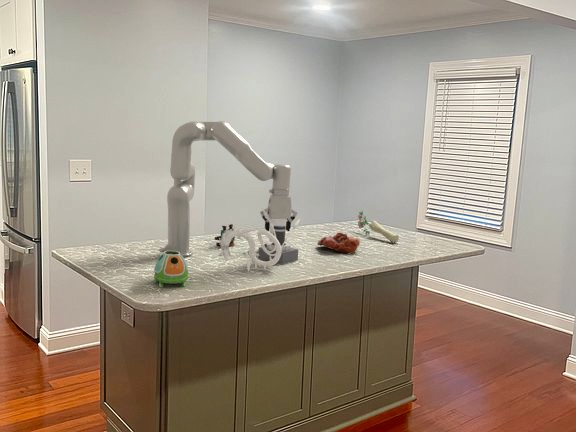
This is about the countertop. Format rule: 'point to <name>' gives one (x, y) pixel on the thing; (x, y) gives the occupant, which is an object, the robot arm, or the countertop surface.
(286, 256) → the low charcoal box
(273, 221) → the milk
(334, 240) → the meat
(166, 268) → the turtle holder
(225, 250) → the serpentine dragon sculpture
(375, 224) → the flower vase
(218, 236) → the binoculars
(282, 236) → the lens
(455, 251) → the countertop surface
